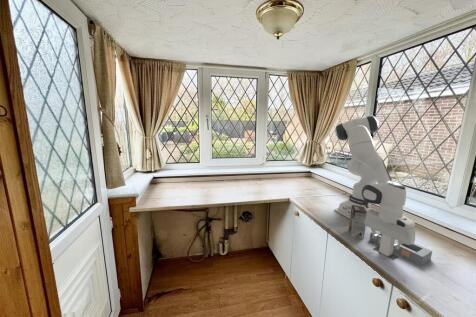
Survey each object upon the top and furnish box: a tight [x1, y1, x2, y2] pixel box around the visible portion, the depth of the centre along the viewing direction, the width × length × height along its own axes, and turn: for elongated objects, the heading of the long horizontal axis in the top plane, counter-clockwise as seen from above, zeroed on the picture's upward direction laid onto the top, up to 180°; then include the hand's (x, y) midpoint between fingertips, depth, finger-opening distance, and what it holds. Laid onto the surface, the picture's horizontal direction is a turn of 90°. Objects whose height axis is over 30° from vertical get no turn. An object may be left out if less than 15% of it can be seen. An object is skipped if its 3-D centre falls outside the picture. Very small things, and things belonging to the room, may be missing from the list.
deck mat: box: [372, 246, 399, 261], centre depth 97 cm, size 9×5×1 cm, turn 28°
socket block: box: [369, 231, 433, 267], centre depth 100 cm, size 22×10×5 cm, turn 28°
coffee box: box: [348, 205, 367, 240], centre depth 112 cm, size 9×6×16 cm
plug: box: [378, 233, 395, 257], centre depth 96 cm, size 4×4×11 cm
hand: (385, 242), depth 96 cm, fingers open, 8 cm apart
